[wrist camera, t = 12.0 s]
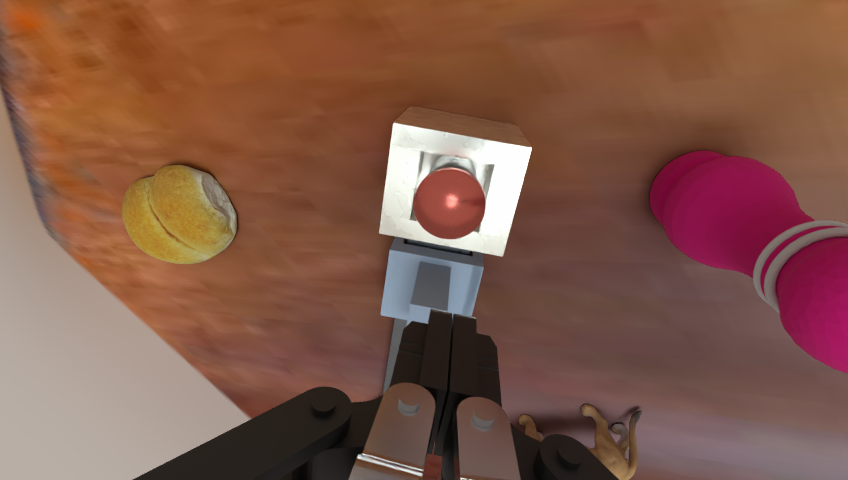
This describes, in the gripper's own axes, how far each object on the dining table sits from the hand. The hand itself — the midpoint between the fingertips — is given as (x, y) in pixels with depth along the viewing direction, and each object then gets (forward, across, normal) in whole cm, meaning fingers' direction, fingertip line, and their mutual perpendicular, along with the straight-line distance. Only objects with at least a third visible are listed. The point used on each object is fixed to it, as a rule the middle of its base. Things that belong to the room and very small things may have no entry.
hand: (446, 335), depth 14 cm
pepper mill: (+22, -17, -2) cm, 28 cm away
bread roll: (+22, +22, +8) cm, 32 cm away
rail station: (+21, +1, +11) cm, 24 cm away
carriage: (+21, +1, +9) cm, 23 cm away
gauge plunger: (+17, +1, 0) cm, 17 cm away
